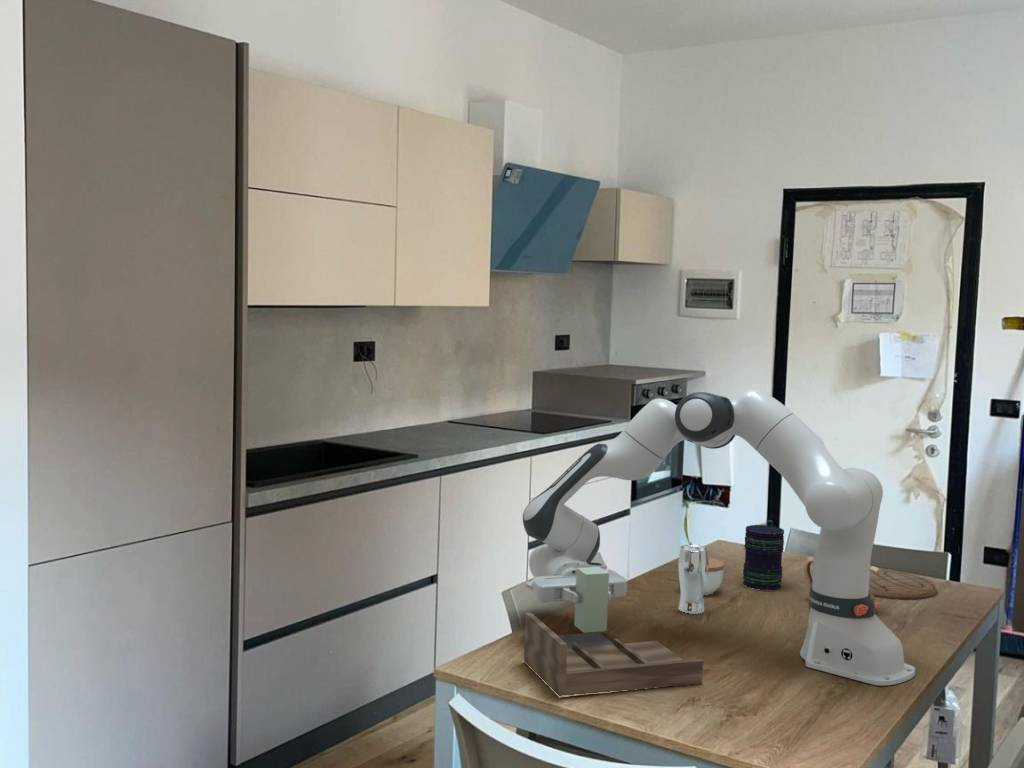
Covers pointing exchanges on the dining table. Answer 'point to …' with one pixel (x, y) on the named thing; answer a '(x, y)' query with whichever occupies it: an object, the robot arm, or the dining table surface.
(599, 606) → the block
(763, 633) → the dining table surface
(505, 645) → the dining table surface
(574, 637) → the mat
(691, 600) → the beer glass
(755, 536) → the storage jar
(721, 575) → the lidded jar
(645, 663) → the lane shelf
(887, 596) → the trivet
